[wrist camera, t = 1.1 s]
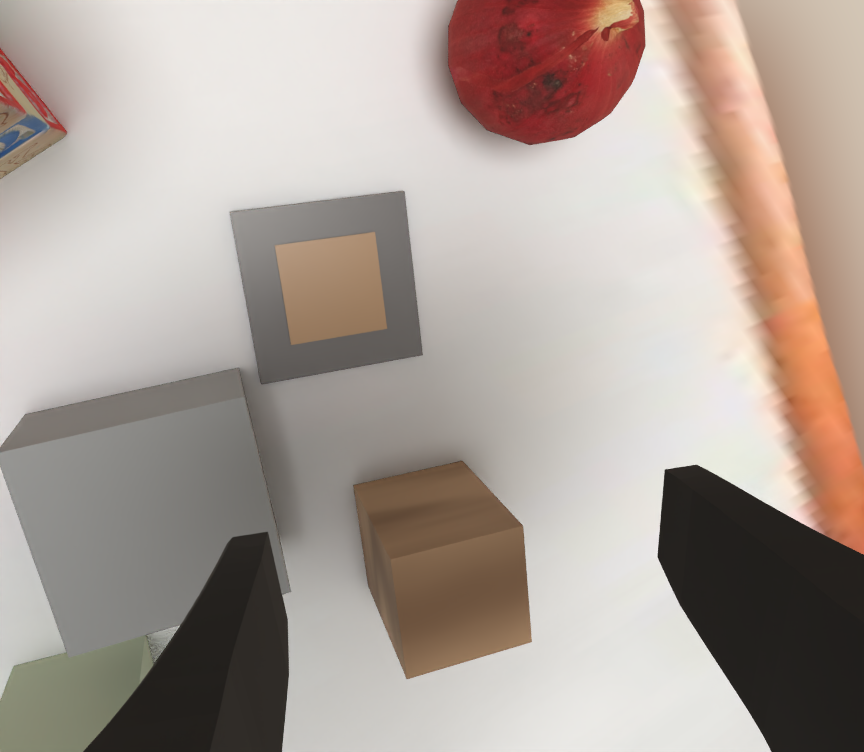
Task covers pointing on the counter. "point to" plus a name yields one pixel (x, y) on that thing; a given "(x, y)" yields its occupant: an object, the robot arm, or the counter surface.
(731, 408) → the counter surface
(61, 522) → the slate base block
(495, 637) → the walnut block
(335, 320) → the card
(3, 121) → the stack of blocks
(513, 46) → the onion
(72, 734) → the sage block
